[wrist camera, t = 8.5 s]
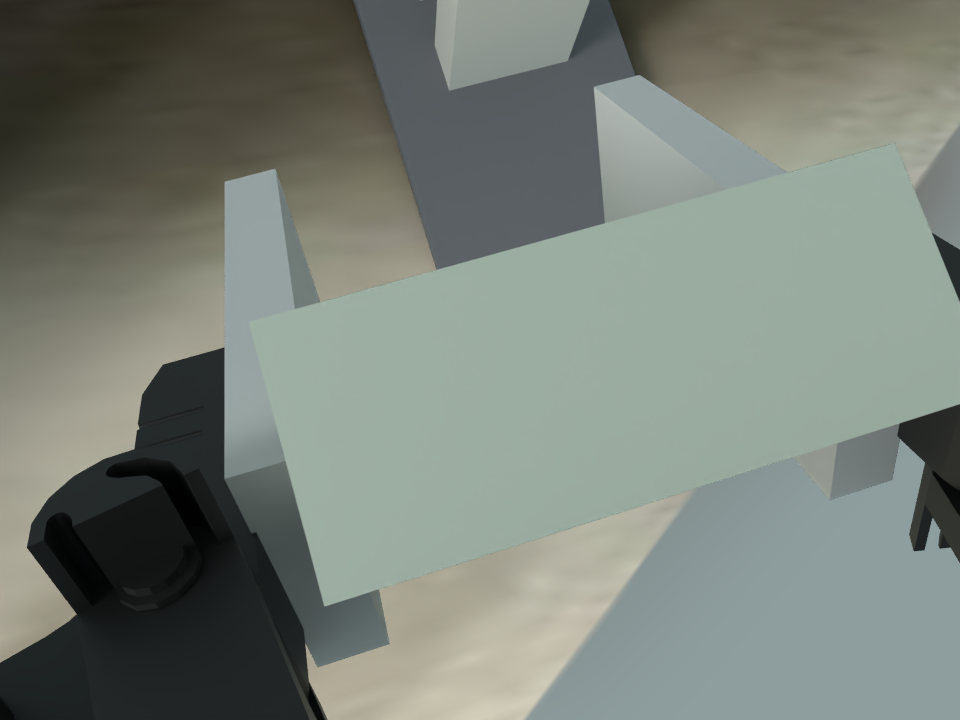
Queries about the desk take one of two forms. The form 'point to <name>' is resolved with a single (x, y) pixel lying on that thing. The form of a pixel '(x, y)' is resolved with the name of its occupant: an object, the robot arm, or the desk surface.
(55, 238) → the desk surface
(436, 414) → the domino
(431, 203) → the domino mat
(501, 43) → the domino
